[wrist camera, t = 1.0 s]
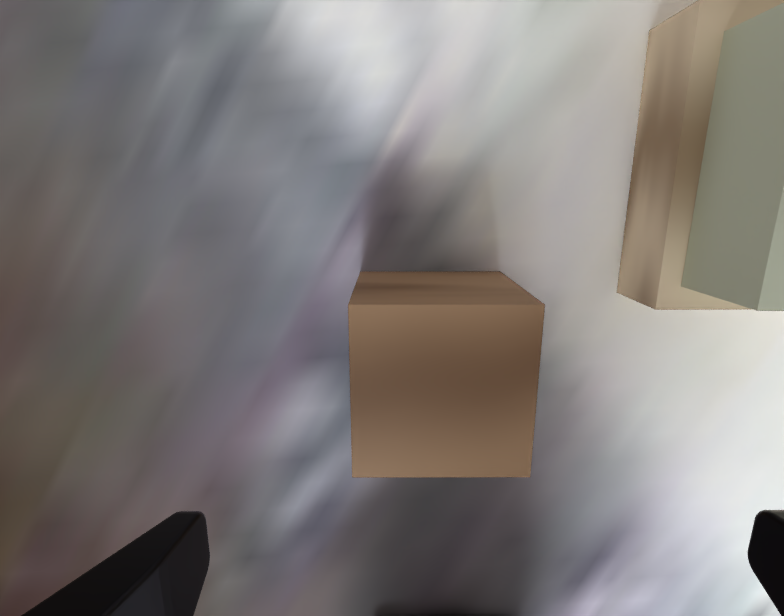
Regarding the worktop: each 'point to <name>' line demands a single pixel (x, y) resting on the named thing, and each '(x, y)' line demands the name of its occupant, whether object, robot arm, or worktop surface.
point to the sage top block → (743, 173)
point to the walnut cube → (443, 374)
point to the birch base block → (674, 151)
